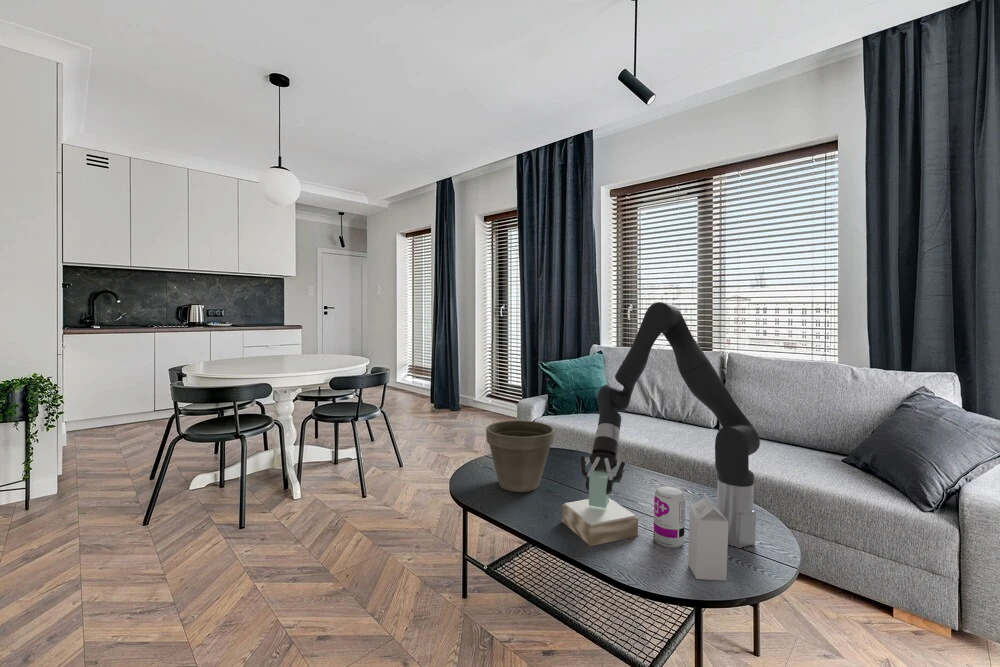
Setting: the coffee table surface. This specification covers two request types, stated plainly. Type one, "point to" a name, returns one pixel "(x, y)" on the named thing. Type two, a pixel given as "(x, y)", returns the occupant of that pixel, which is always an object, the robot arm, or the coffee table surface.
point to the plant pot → (519, 452)
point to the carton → (598, 489)
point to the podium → (599, 521)
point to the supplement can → (669, 516)
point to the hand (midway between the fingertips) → (598, 492)
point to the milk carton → (707, 541)
